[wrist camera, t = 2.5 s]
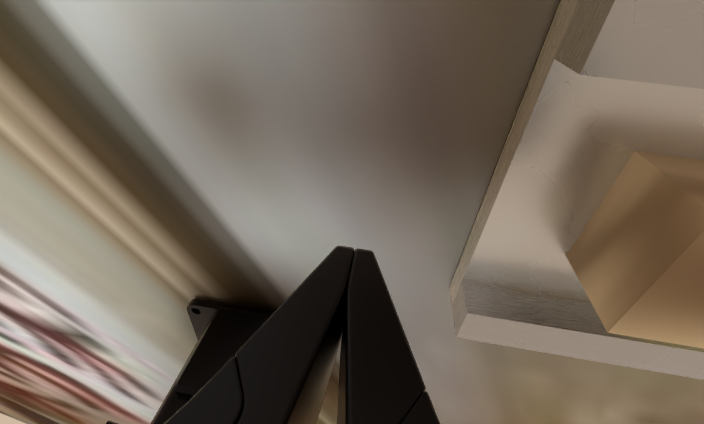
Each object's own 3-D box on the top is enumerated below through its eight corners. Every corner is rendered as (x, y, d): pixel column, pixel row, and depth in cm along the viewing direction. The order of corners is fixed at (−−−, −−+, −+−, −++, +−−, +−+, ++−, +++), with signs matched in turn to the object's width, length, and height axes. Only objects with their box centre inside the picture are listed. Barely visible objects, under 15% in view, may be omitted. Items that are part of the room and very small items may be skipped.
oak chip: (688, 274, 11) (764, 358, 9) (565, 256, 11) (607, 332, 9) (792, 171, 9) (938, 247, 6) (634, 151, 9) (717, 217, 7)
